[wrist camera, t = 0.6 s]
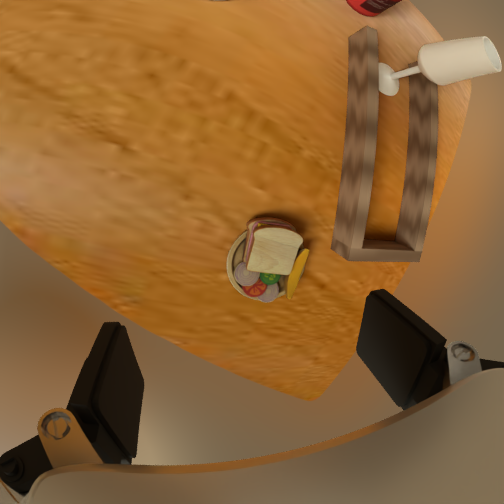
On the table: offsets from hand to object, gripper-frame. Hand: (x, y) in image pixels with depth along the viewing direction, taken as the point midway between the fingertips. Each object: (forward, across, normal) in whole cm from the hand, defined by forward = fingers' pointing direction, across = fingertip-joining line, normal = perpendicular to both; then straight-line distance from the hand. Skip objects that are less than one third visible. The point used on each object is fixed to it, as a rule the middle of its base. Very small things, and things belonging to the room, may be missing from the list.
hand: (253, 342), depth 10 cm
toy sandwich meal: (+31, -8, +9) cm, 33 cm away
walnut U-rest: (+31, -29, -10) cm, 44 cm away
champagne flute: (+32, -31, -22) cm, 49 cm away
